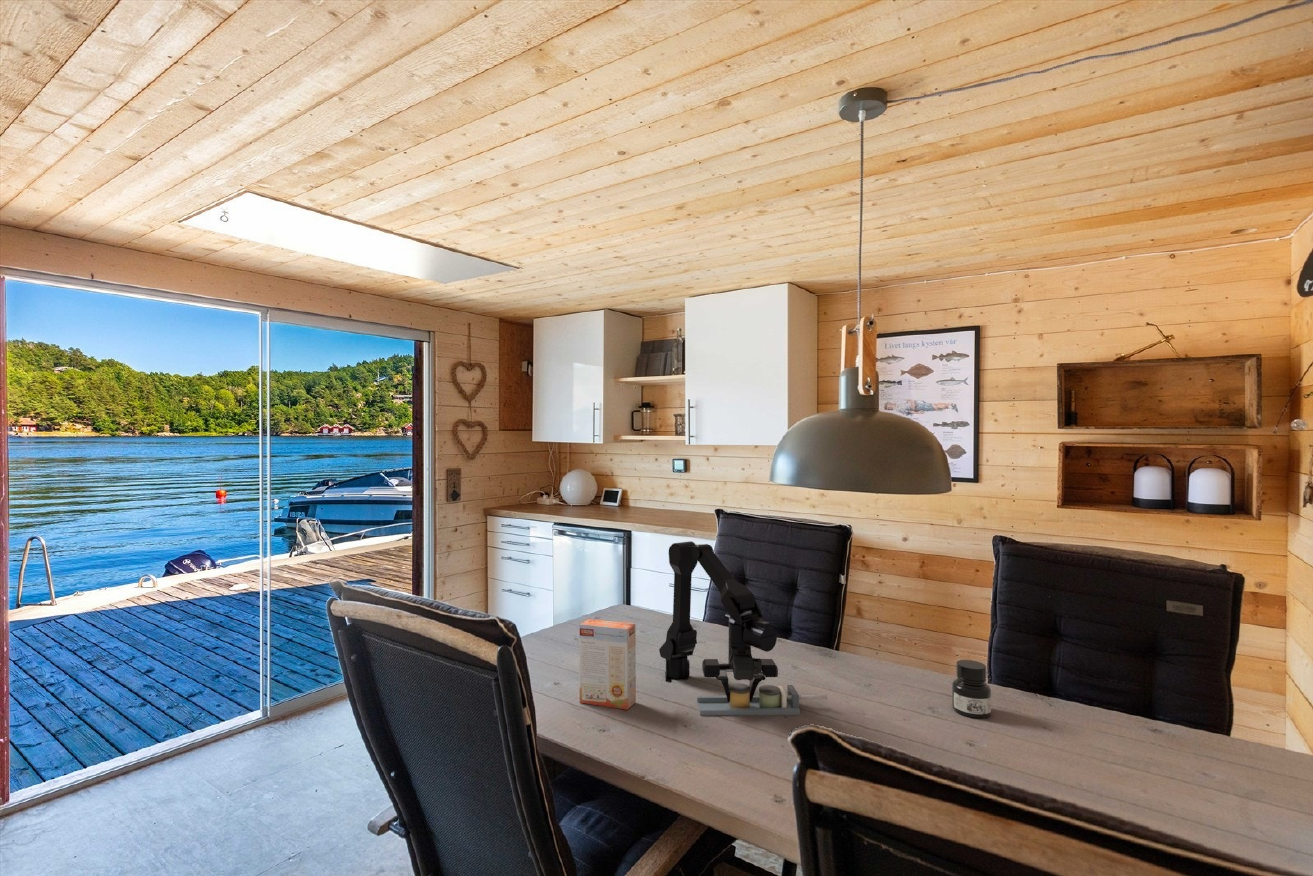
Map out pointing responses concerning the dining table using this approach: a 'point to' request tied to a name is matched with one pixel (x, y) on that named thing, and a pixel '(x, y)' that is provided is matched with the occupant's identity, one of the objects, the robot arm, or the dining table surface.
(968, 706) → the ink bottle
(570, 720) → the dining table surface
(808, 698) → the pusher
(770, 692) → the jar in lane
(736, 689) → the jar
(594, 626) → the cracker box
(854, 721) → the dining table surface
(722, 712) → the lane
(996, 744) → the dining table surface
